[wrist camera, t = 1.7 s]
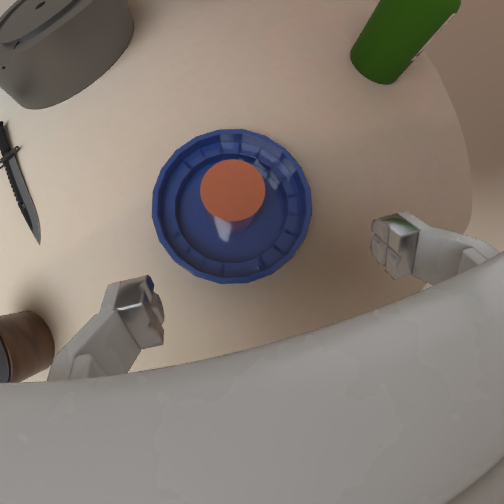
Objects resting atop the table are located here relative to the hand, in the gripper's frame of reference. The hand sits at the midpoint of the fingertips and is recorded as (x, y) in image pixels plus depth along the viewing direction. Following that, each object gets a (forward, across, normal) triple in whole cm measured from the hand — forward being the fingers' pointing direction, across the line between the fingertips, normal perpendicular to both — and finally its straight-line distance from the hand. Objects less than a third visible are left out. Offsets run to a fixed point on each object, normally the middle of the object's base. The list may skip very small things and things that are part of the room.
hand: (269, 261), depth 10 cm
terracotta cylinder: (+22, 0, -7) cm, 23 cm away
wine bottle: (+34, +29, +9) cm, 46 cm away
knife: (+30, -30, +4) cm, 43 cm away
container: (+43, -21, +22) cm, 53 cm away
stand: (+17, -31, -15) cm, 38 cm away
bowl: (+22, 0, -8) cm, 24 cm away
